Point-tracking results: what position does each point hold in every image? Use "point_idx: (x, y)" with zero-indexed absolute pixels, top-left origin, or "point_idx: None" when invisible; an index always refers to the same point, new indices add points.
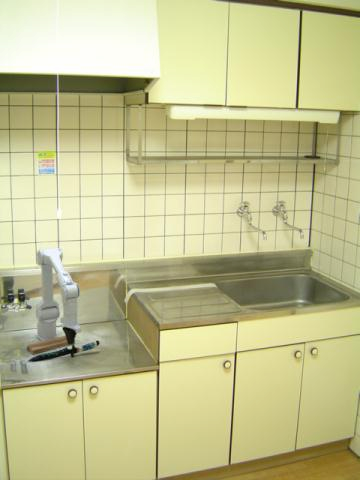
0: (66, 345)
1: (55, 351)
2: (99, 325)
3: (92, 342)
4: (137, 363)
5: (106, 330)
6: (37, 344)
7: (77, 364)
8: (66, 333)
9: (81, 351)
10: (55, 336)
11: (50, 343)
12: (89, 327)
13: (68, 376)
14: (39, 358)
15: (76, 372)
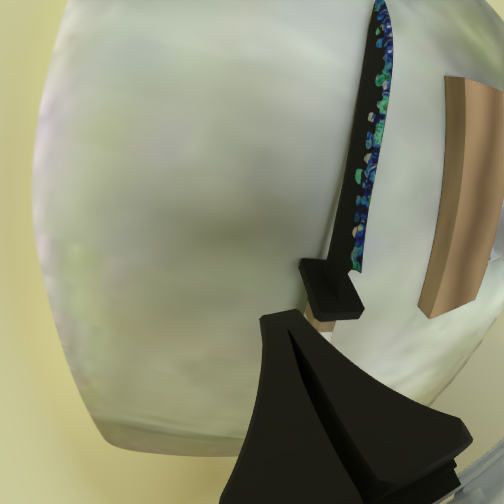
0: (430, 269)
1: (373, 173)
2: (442, 380)
3: None
4: (123, 430)
5: (408, 396)
6: (498, 140)
7: (186, 260)
8: (320, 435)
9: None
10: (498, 250)
11: (477, 203)
12: (457, 358)
13: (43, 163)
14: (374, 53)
15: (78, 223)
